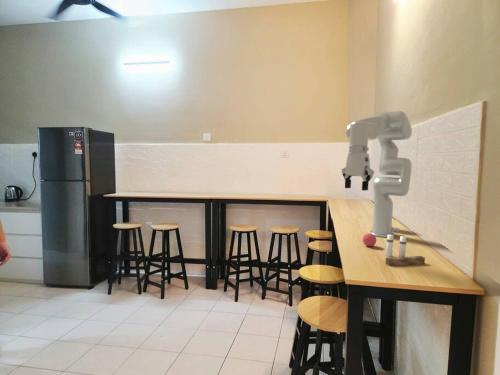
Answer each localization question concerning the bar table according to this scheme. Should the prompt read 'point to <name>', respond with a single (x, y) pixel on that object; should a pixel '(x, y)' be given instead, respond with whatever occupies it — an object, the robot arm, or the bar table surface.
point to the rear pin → (402, 246)
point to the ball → (369, 239)
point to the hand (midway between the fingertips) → (356, 189)
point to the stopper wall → (405, 260)
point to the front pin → (389, 245)
